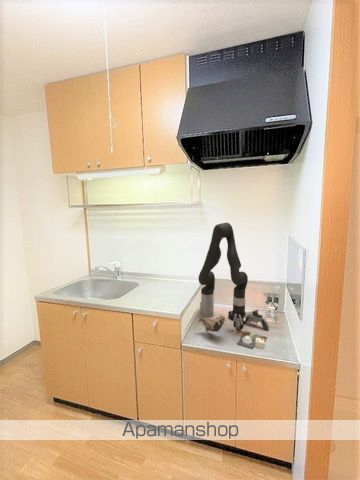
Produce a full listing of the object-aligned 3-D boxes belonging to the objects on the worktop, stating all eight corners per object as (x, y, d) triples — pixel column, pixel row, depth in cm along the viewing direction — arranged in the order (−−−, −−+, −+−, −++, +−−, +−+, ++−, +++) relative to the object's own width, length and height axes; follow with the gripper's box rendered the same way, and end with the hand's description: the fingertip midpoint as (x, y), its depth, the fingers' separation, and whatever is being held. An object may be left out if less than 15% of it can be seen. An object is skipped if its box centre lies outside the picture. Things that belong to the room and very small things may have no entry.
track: (233, 334, 154) (233, 332, 154) (236, 329, 159) (236, 328, 159) (265, 343, 144) (265, 342, 143) (267, 338, 148) (267, 337, 148)
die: (255, 348, 139) (255, 341, 138) (256, 344, 143) (256, 337, 142) (263, 350, 137) (263, 343, 137) (264, 346, 141) (264, 338, 141)
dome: (241, 344, 143) (241, 337, 142) (244, 340, 147) (244, 332, 146) (250, 347, 140) (250, 339, 139) (253, 343, 144) (253, 335, 143)
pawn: (234, 329, 155) (234, 317, 153) (236, 327, 158) (237, 314, 156) (239, 331, 153) (239, 318, 151) (242, 329, 156) (242, 316, 154)
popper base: (237, 346, 142) (237, 342, 142) (242, 338, 149) (242, 335, 149) (252, 350, 137) (252, 347, 137) (256, 342, 145) (256, 339, 144)
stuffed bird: (225, 346, 142) (225, 319, 139) (193, 339, 150) (193, 313, 147) (229, 337, 151) (229, 312, 148) (199, 330, 159) (199, 306, 156)
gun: (268, 332, 153) (260, 310, 155) (232, 334, 170) (225, 314, 172) (271, 329, 157) (263, 307, 159) (236, 331, 174) (229, 311, 176)
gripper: (226, 302, 153) (225, 327, 156) (248, 307, 145) (247, 333, 148) (230, 298, 159) (230, 322, 162) (251, 303, 151) (251, 328, 155)
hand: (238, 327), depth 155 cm, fingers closed on pawn, 3 cm apart
